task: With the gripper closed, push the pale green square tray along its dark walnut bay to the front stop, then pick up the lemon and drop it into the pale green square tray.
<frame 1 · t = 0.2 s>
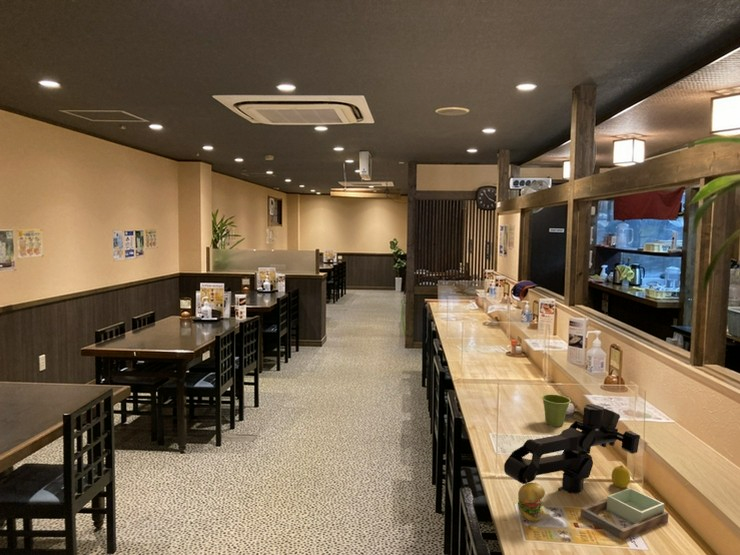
hand: (627, 431, 192), 16 cm above the restaurant counter, tool horizontal, fingers open, 9 cm apart
lemon: (619, 489, 184), on the restaurant counter
bay: (623, 522, 164), on the restaurant counter
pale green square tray: (635, 507, 166), point 3 cm above the restaurant counter, slide at 0.0 cm
plant pot: (554, 424, 242), on the restaurant counter
hamburger: (527, 518, 164), on the restaurant counter, touching arm
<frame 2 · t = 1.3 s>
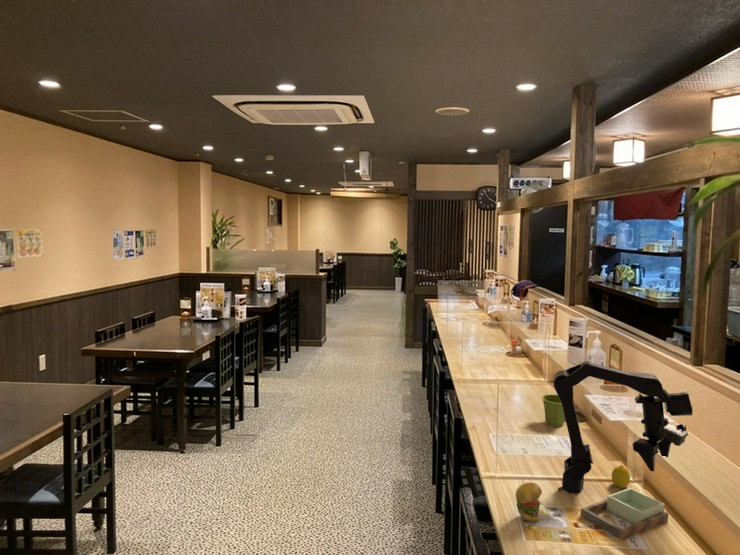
hand: (658, 465, 172), 13 cm above the restaurant counter, tool pointing down, fingers open, 9 cm apart
hamburger: (527, 519, 164), on the restaurant counter
everything else where it was.
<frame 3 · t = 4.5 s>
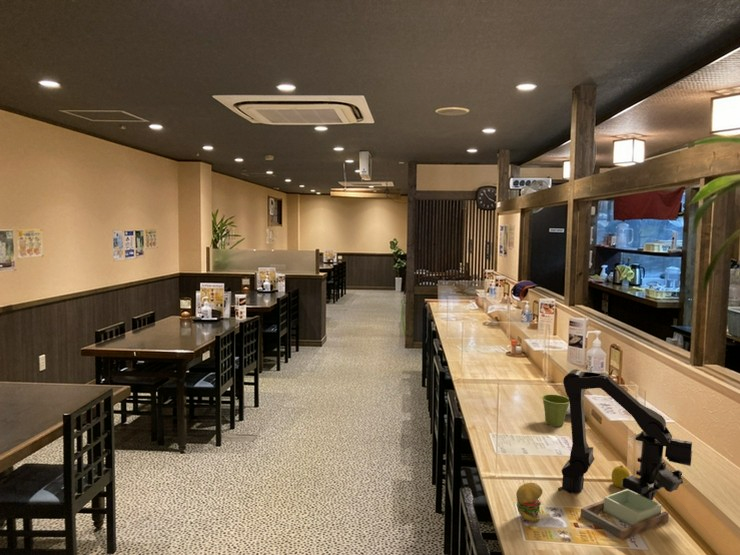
hand: (647, 506, 169), 2 cm above the restaurant counter, tool pointing down, fingers closed
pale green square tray: (632, 508, 165), point 3 cm above the restaurant counter, slide at 1.5 cm, touching gripper
everything else where it was.
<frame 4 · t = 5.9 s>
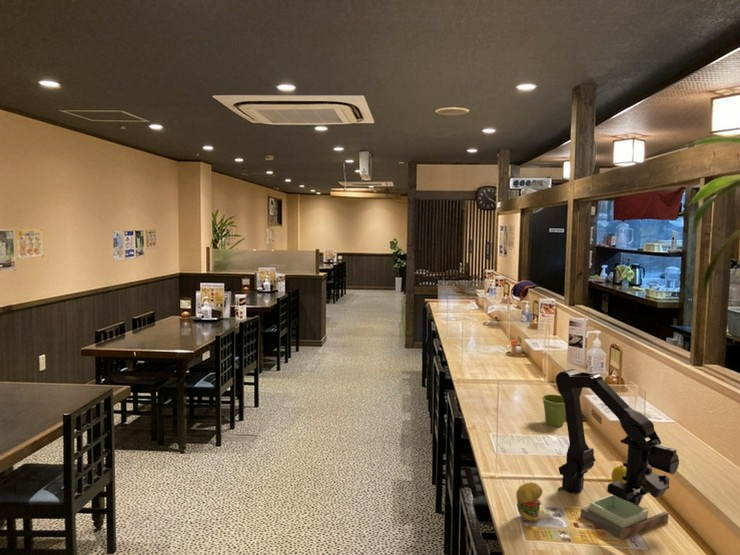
hand: (633, 511, 166), 2 cm above the restaurant counter, tool pointing down, fingers closed
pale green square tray: (618, 513, 162), point 3 cm above the restaurant counter, slide at 8.1 cm, touching gripper
everything else where it was.
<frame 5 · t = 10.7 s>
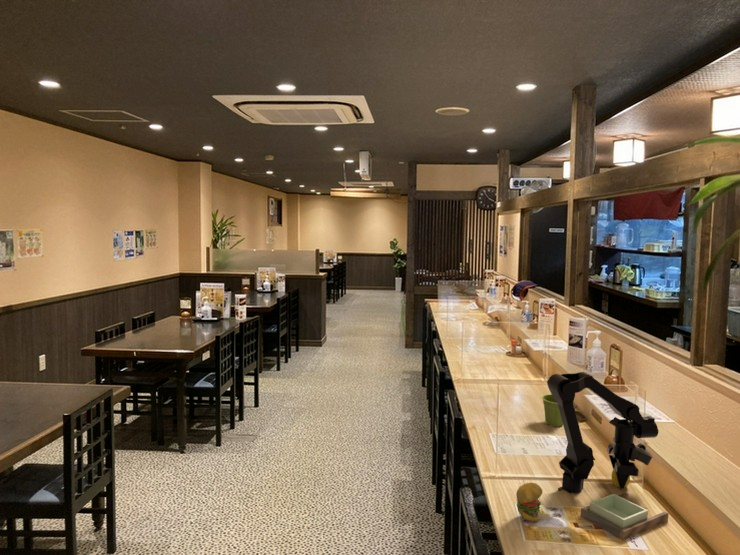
hand: (620, 484, 184), 2 cm above the restaurant counter, tool pointing down, fingers closed on lemon, 5 cm apart
lemon: (619, 489, 184), on the restaurant counter, touching gripper
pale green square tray: (618, 513, 162), point 3 cm above the restaurant counter, slide at 8.0 cm
everything else where it was.
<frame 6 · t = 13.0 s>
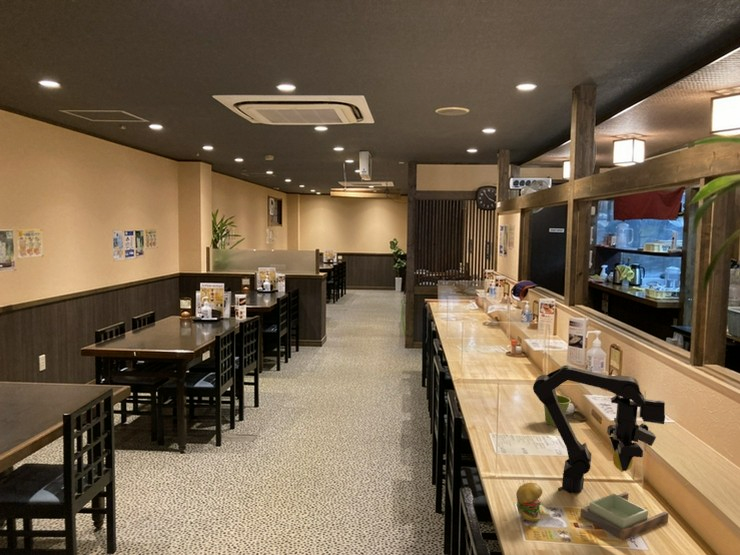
hand: (621, 466, 174), 11 cm above the restaurant counter, tool pointing down, fingers closed on lemon, 5 cm apart
lemon: (621, 472, 175), point 10 cm above the restaurant counter, touching gripper
everything else where it was.
when the fingers open (5 cm above the restaurant counter, at t = 15.5 s): lemon drops 2 cm, resting on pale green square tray.
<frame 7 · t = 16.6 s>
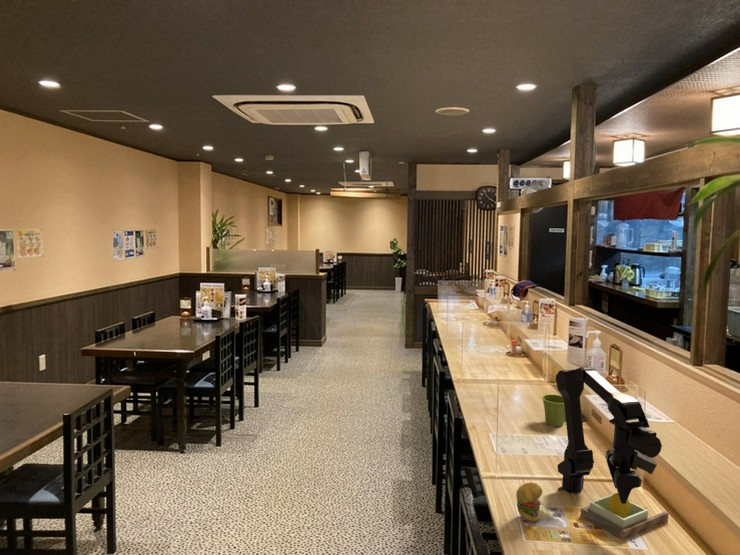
hand: (620, 495, 161), 9 cm above the restaurant counter, tool pointing down, fingers open, 9 cm apart
lemon: (618, 519, 162), point 2 cm above the restaurant counter, touching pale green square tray
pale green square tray: (618, 513, 162), point 3 cm above the restaurant counter, slide at 8.0 cm, touching lemon
everything else where it was.
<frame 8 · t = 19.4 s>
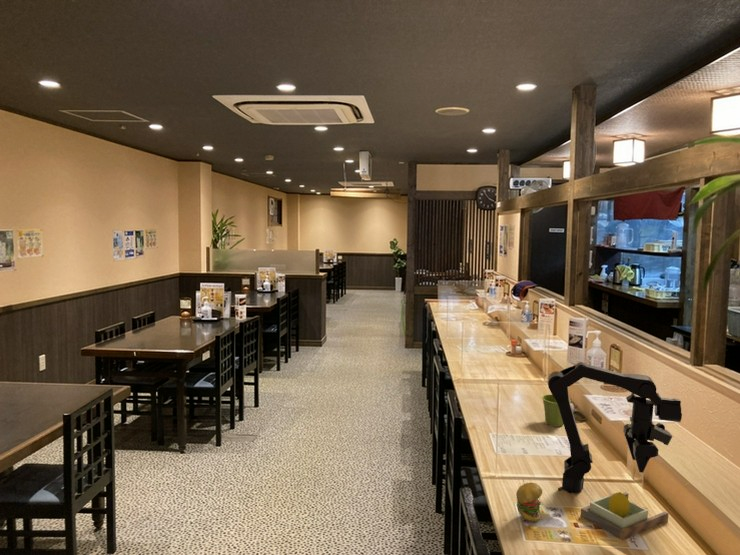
hand: (637, 465, 174), 12 cm above the restaurant counter, tool pointing down, fingers open, 9 cm apart
nothing on the restaurant counter moved.
at the end: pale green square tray slide at 8.0 cm; lemon inside the target area (0.2 cm from its centre), point 1.5 cm above the restaurant counter; the gripper is holding nothing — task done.
